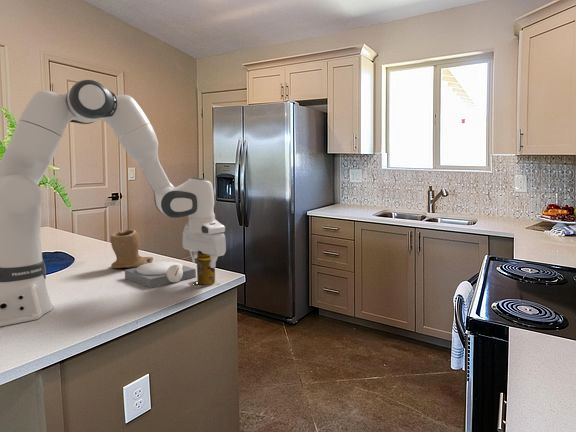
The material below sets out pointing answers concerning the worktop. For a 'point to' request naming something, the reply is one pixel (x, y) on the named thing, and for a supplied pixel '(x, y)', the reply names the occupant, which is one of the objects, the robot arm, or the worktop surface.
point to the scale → (159, 273)
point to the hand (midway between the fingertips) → (203, 265)
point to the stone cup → (127, 250)
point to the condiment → (204, 271)
